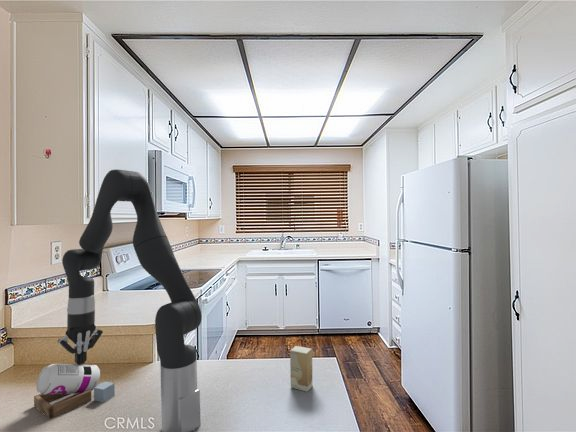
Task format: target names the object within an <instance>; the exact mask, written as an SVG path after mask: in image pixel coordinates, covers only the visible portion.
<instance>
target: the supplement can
mask: <svg viewBox="0 0 576 432" xmlns="http://www.w3.org/2000/svg"><path fill="white" fill-rule="evenodd" d="M100 378H101V369H100V368H99V367H98V365H97V364H81V365H78V364H77V363H75V364H70V363H66V364H65V363H52V364H49V365H46V366H44V367H43V368H42V370H40V373H39V375H38V377H37V381H36V385H35V386H36V391H37V392H38V393H39V394H41V393H42V394H44V395H48V394H67V395H70V394H71V395H72V394H81V393H83V392H86V391H88V390H91V392H92V391H94V387H96V386H98V385H99V381H100Z"/></svg>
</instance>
